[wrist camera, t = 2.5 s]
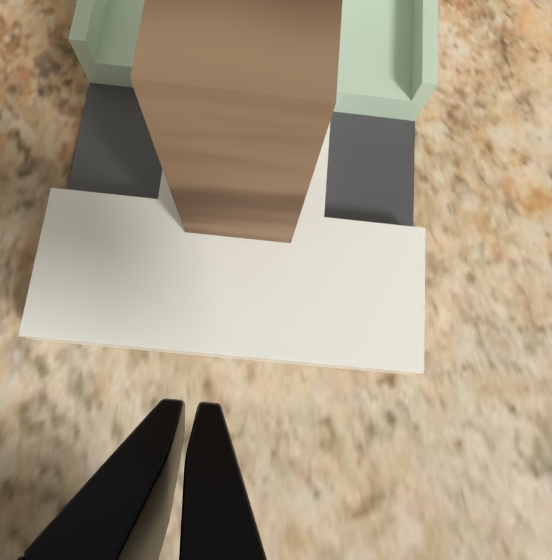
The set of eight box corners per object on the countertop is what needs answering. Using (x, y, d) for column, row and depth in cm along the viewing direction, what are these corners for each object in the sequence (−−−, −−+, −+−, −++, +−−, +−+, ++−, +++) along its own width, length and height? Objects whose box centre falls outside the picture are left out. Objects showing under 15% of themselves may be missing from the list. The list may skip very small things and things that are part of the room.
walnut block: (290, 243, 22) (336, 102, 11) (185, 232, 22) (129, 78, 11) (298, 148, 23) (346, -59, 13) (198, 137, 23) (160, -84, 12)
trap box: (408, 374, 23) (453, 370, 18) (38, 340, 22) (-20, 326, 17) (414, 7, 28) (450, -73, 23) (116, -32, 27) (88, -123, 23)
